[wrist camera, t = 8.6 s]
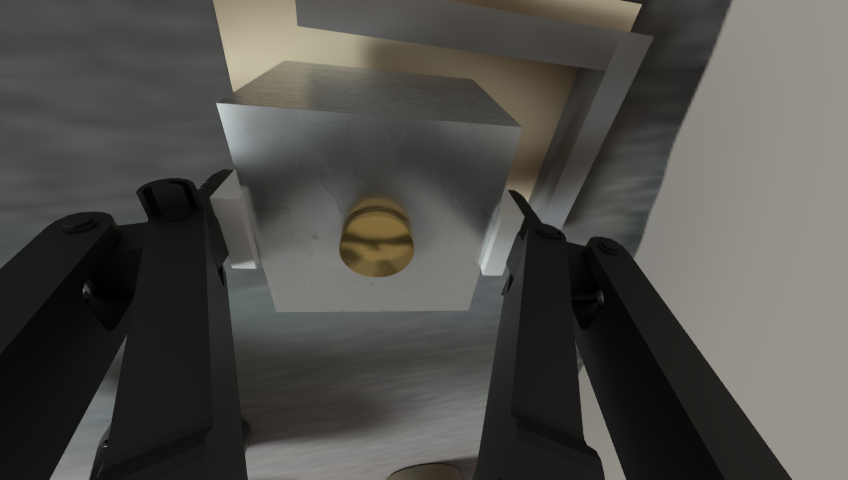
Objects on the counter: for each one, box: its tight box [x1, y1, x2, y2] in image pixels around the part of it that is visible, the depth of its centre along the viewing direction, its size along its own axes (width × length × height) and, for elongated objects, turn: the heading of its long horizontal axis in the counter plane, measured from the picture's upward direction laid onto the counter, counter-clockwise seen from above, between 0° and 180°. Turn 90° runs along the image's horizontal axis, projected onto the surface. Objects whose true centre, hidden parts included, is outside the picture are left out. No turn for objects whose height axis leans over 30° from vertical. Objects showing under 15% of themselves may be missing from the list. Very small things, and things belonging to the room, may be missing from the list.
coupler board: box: [213, 0, 654, 230], centre depth 18 cm, size 16×20×4 cm
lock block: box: [217, 60, 523, 312], centre depth 13 cm, size 8×8×7 cm
